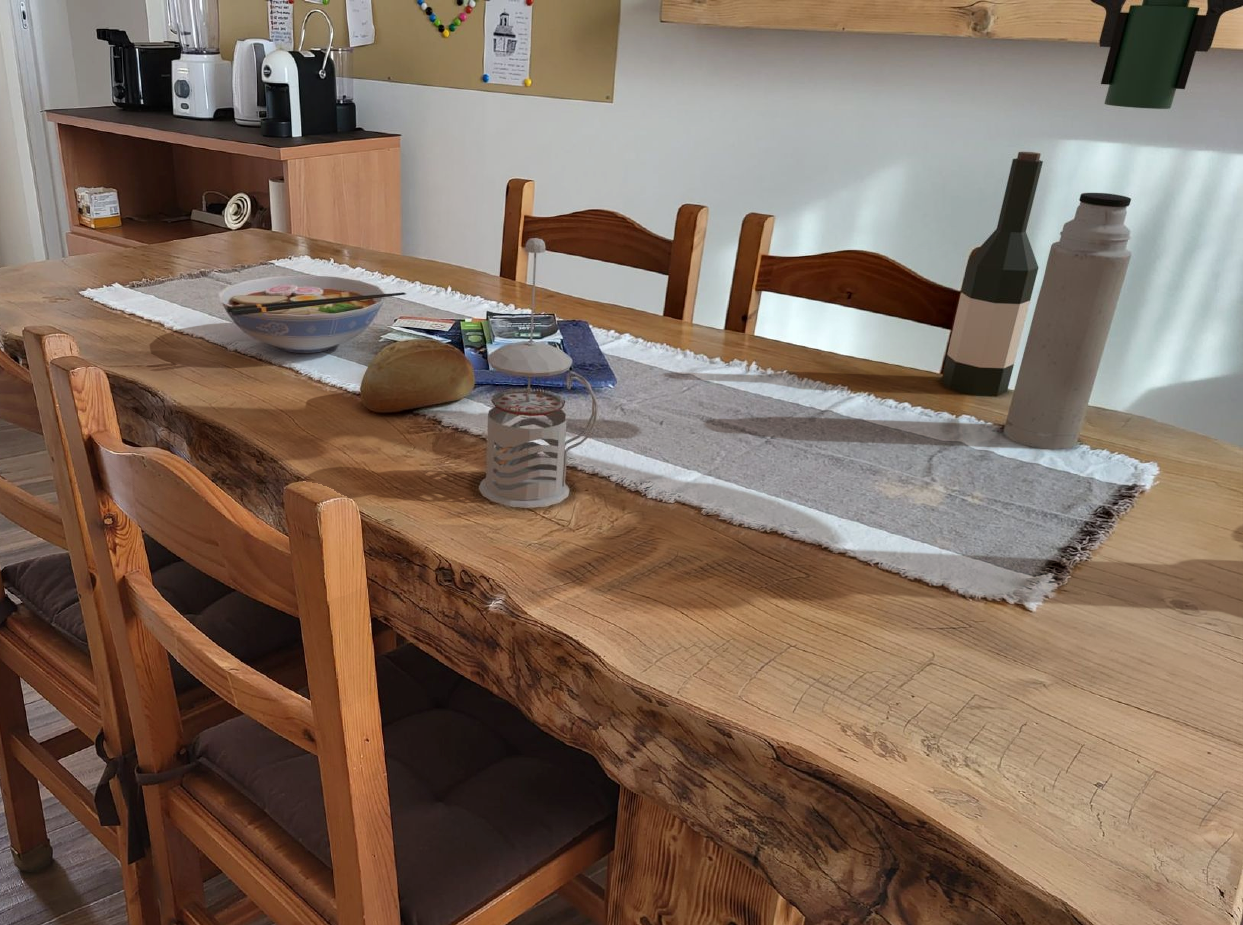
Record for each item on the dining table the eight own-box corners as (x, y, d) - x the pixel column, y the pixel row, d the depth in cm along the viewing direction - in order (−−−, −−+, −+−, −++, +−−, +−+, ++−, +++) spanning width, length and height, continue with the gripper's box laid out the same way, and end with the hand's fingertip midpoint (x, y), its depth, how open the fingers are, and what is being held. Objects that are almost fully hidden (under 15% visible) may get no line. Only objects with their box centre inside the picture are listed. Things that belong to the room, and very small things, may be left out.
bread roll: (493, 407, 131) (495, 343, 127) (384, 427, 123) (383, 359, 120) (452, 385, 138) (453, 323, 135) (346, 403, 130) (344, 338, 127)
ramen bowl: (353, 317, 166) (352, 263, 162) (422, 356, 149) (422, 297, 145) (192, 335, 154) (186, 278, 150) (247, 381, 136) (242, 317, 133)
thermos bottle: (1004, 423, 133) (1065, 186, 120) (1075, 435, 130) (1145, 193, 117) (1001, 444, 126) (1065, 195, 113) (1076, 457, 123) (1150, 203, 111)
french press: (473, 472, 113) (478, 226, 101) (583, 473, 113) (601, 229, 102) (477, 512, 104) (484, 247, 93) (596, 512, 105) (617, 250, 94)
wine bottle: (942, 376, 150) (993, 146, 136) (1006, 385, 147) (1065, 152, 133) (938, 393, 143) (992, 153, 129) (1006, 403, 140) (1068, 159, 126)
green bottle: (1171, 106, 110) (1211, -33, 104) (1169, 109, 105) (1212, -36, 100) (1106, 102, 113) (1142, -34, 107) (1102, 105, 108) (1139, -37, 102)
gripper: (1100, -194, 99) (1036, 81, 109) (1349, -204, 91) (1254, 94, 101) (1106, -181, 105) (1044, 78, 115) (1340, -189, 97) (1251, 91, 107)
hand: (1142, 85), depth 108 cm, fingers closed on green bottle, 6 cm apart
